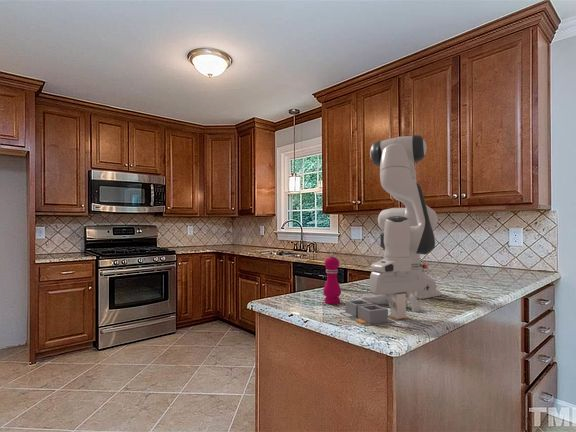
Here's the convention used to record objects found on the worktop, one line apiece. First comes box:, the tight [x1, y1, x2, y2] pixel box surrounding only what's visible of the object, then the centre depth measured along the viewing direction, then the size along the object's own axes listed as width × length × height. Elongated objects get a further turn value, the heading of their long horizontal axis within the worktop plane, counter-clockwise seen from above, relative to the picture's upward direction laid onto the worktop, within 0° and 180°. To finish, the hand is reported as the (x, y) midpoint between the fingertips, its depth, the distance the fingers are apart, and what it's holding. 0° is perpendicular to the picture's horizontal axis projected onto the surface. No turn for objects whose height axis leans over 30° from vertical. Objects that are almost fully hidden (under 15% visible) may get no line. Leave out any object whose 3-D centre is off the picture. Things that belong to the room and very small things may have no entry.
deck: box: [388, 314, 413, 322], centre depth 118 cm, size 7×7×1 cm
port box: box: [339, 299, 396, 327], centre depth 118 cm, size 11×16×5 cm
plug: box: [390, 292, 407, 319], centre depth 118 cm, size 3×3×9 cm
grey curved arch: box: [362, 292, 422, 313], centre depth 136 cm, size 24×12×7 cm, turn 38°
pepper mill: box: [322, 252, 342, 305], centre depth 144 cm, size 7×7×20 cm
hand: (398, 306), depth 118 cm, fingers closed on plug, 3 cm apart
